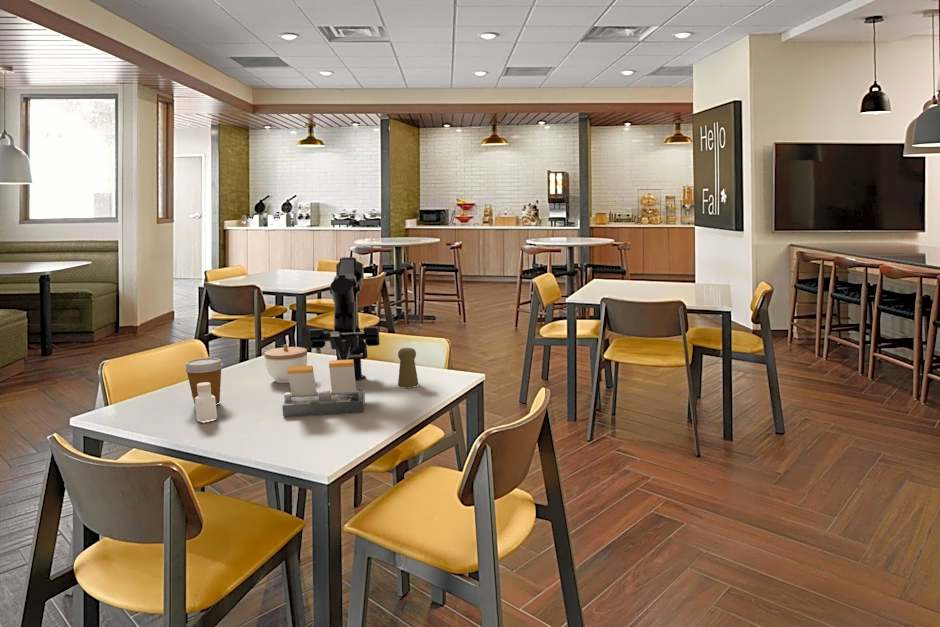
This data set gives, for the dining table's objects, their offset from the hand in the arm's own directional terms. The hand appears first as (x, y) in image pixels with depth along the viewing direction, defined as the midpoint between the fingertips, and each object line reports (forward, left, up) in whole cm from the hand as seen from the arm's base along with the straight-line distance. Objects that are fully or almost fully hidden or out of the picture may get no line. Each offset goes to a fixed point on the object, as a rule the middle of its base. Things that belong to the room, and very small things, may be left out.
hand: (343, 364), depth 177 cm
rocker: (+4, -2, -6) cm, 8 cm away
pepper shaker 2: (-7, -34, -11) cm, 36 cm away
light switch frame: (+2, -6, -11) cm, 13 cm away
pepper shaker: (-7, +22, -11) cm, 26 cm away
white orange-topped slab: (0, -11, -6) cm, 13 cm away
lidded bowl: (-35, -5, -11) cm, 37 cm away
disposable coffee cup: (-22, -31, -11) cm, 39 cm away
